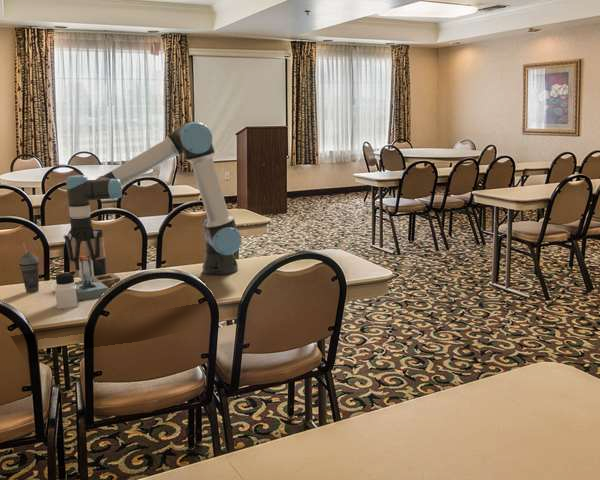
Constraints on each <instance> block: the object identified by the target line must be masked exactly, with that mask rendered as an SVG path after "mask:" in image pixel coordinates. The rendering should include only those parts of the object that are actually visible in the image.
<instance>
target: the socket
mask: <svg viewBox="0 0 600 480" xmlns="http://www.w3.org/2000/svg"><path fill="white" fill-rule="evenodd" d="M76 286H77V295H78V302H79V301H83V300H88V299H89V300H90V299H95V298H101V297H102V296H101V295H102V294H103V293H105V292H106V291H107V290H108V291H109V287H107V286H105V285H104V284H103V283H101V282H99V281H98V282H92V287H91V288H83V286H82V283H81V284H76ZM100 296H101V297H100Z"/></svg>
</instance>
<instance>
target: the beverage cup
mask: <svg viewBox="0 0 600 480" xmlns="http://www.w3.org/2000/svg"><path fill="white" fill-rule="evenodd" d="M25 243H26V242H24V241H23V242H22V244H23V245H22V246H23V248H24V254H22V255H21V256H20V258H19V262H18V265H19V269H20V271H21V275H22V280H23V284H24V287H25V288H24V290H25V292H26V293H27V294H33V293H34V294H35V293H37V292H38V293H39V291H40V290H39V288H40V286H39V285H40V284H39V279H40V277H39V266H40V261H39V258H38V257H37V255H35V254H34V253H31V252H27V247H26V244H25Z"/></svg>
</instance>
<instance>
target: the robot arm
mask: <svg viewBox="0 0 600 480" xmlns="http://www.w3.org/2000/svg"><path fill="white" fill-rule="evenodd" d="M215 153H216V152H215V149H214V145H213V134H212V131H211V130H210V128H209V127H208V126H207V125H206V124H204V123H202V122H200V121H189V122H185V123H182V124H181V125H180V126H179V127H178V128H176V129H175V130H174V131H172V132H170V133H169V134H167V135H165V139H164V140H162V141H160V142H158V143H157V144H155V145H154V146H151V147H150V148H149V149H147V150H145V151H143V152H141V153H140V154H138V155H137V156H134V157H133V158H131V159H129V160H128V161H126V162H124V163H122V164H120V165H119V166H117V167H115V168H114V169H112V170H111V171H109V172H107V173H105V174H104V175H100V176H98V177H97V178H96V179H93V180H91V179H88V176H87V175H85V174H81V175H80V174H78V175H75V174H74V175H69V176H68V177H67V178H66V179H65V180H66V193H67V201H68V210H69V211H68V212H69V213H68V214H69V217H70V219H69V220H70V222H69V223H70V231H69V233H68V234H66V235H65V234H64V235H63V238H64V240H65V243H66V250H67V253H68V254H67V255H68V259H69V260H70V262H74V269H75V270H76V271H77V272H78V278H79V279H81V280H82V279H83V276H82V266H81V262H80V252H81V244H82V242H84V243H85V242H86V244H87V247H88V251H89V254H90V258H91V259H90V267H91V277H94V270H93V268H95V267H96V263H95V259H96V258H98V257H100V244H99V238H100V235H101V233H100V232H98V231H94V230H95V229H94V228H93V223H92V222H93V221H92V217H91V215H92V213H91V202H90V201H96V200H97V201H98V200H101V201H102V200H116V199H121V198H122V197H123V196H122V195H123V193H122V191H123V189H122V188H123V187H124V186H126V185H128V184H130V183H131V182H133V181H135V180H137V179H138V178H140V177H142V176H143V175H145V174H146V173H148V172H150V171H151V170H153V169H155V168H157V167H159V166H160V165H162V164H164V163H165V162H167V161H168V160H171V159H172V158H174V157H181V156H182V155H184V158H185V161H187V162H189V163H190V165H191V168H192V171H193V175H194V178H195V181H196V184H197V187H198V191H199V193H200V197H201V201H202V204H203V207H204V211H205V214H206V218H207V219H205V220H204V221H203V234H204V246H205V247H204V250H205V255H204V258H203V259H204V260H203V264H202V273H203V274H206V275H210V276H211V275H212V276H214V275H215V276H216V275H217V276H222V275H230V274H233V273H236V272H237V271H238V270H239V264H238V262H237V260H236V256H235V255H234V254H235V253H236V252H237V251H238V250H240V247H241V246H242V241H243V238H242V234H241V233H240V231H239V230H238V227H237V224H236V221H235V218H234V217H233V216H232V215H230V214H229V211H228V207H227V204H226V200H225V197H224V193H223V190H222V186H221V183H220V179H219V176H218V173H217V169H216V166H215V164H214V159H213V157H214V155H215ZM92 234H94V236H95V237H94V240H95V255H94V252H93V248H92V245H91V241H90V237H91V236H92ZM72 238H73V239H74V241H75V242H74V243H75V246H74V253H73V247H72V242H71V240H72Z"/></svg>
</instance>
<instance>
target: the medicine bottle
mask: <svg viewBox="0 0 600 480" xmlns="http://www.w3.org/2000/svg"><path fill="white" fill-rule="evenodd" d="M74 275H75V274H74V273H72V272H66V271H65V272H60V273H58V274H56V276H55V283H56V286H55V293H54V294H55V301H56V302H55V303H56V309H57V310H63V309H70V308H71V309H73V308H78V307H79V301H78V295H77V286H76V285H77V283H75V277H74Z"/></svg>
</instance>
